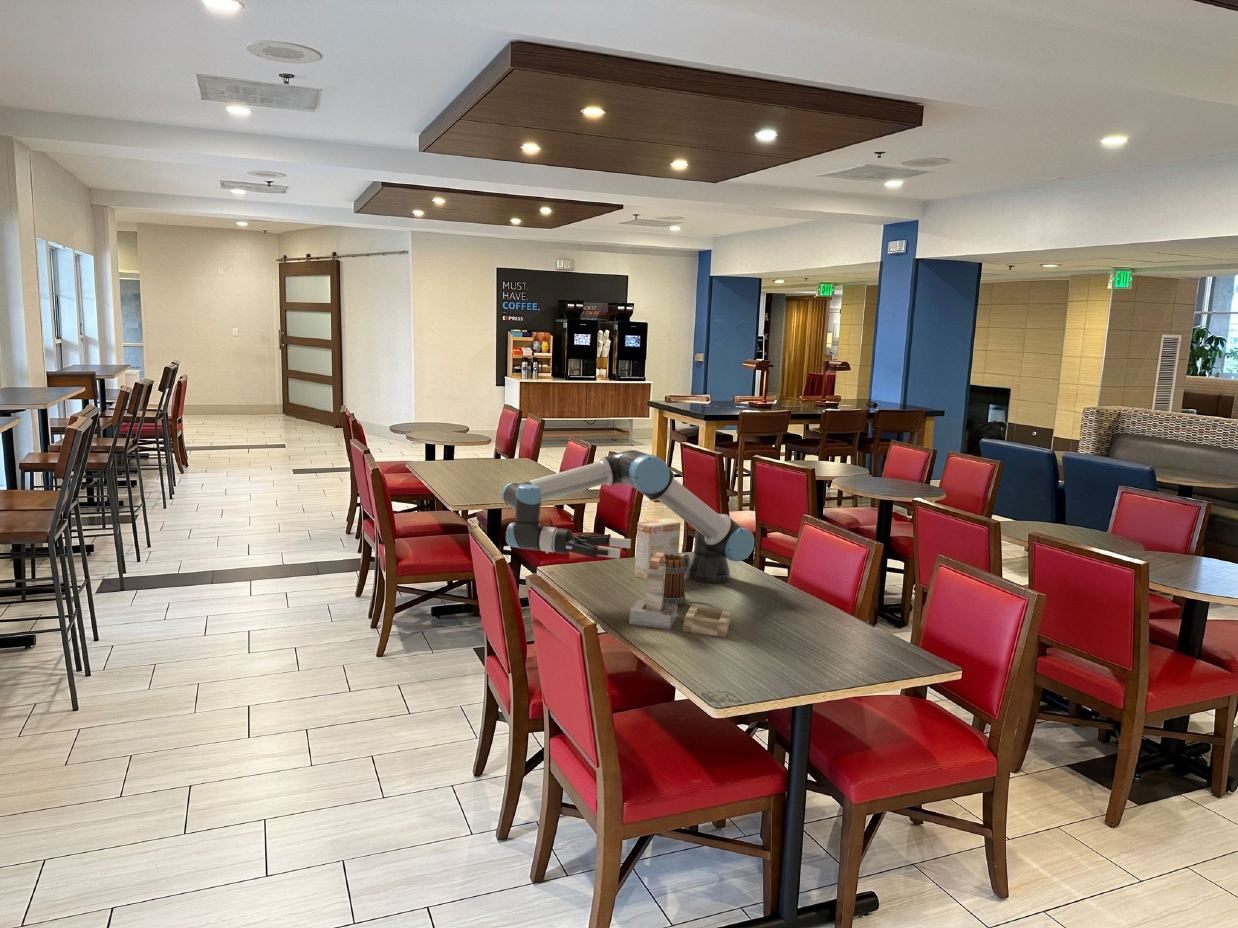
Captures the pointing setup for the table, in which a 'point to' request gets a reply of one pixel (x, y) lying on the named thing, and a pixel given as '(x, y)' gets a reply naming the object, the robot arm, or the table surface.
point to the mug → (675, 578)
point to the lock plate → (653, 615)
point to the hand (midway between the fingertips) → (625, 548)
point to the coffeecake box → (655, 542)
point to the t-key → (656, 582)
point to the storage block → (707, 621)
